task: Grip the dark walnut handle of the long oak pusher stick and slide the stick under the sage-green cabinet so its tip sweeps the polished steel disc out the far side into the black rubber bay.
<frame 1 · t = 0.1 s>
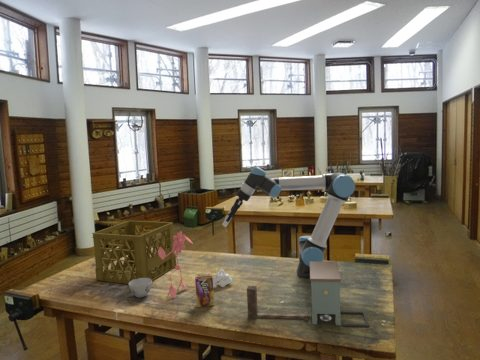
hand: (224, 223, 220), 36 cm above the table, tool tilted 35°, fingers open, 13 cm apart
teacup: (139, 295, 216), on the table
pusher stick: (252, 316, 184), on the table
rubber bay: (352, 319, 176), on the table
milk crate: (138, 273, 251), on the table
candy box: (205, 305, 199), on the table
cabinet: (325, 313, 183), on the table
crumpled paper ball: (222, 285, 225), on the table
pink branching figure: (183, 294, 214), on the table
steel disc: (325, 319, 178), on the table
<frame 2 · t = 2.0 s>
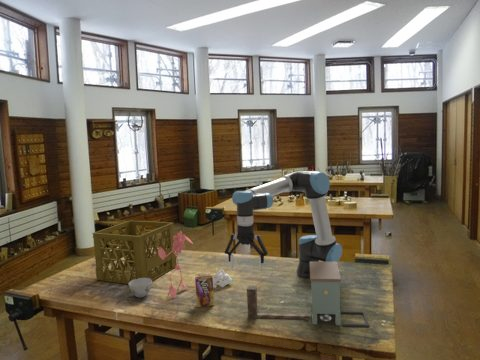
hand: (246, 269, 184), 22 cm above the table, tool pointing down, fingers open, 13 cm apart
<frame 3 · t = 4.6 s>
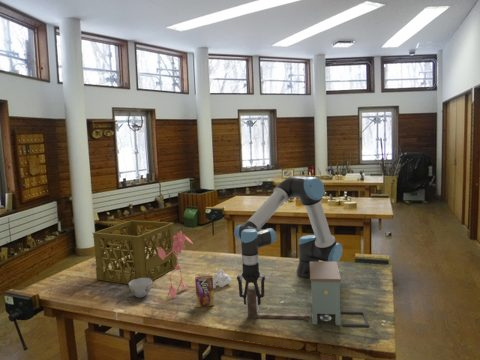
hand: (252, 310, 184), 3 cm above the table, tool pointing down, fingers closed on pusher stick, 4 cm apart
pusher stick: (252, 316, 184), on the table, touching gripper
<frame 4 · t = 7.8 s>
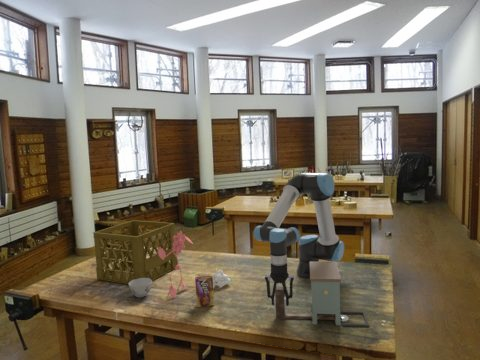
hand: (280, 311, 182), 3 cm above the table, tool pointing down, fingers closed on pusher stick, 4 cm apart
pusher stick: (280, 317, 182), on the table, touching gripper
steel disc: (342, 319, 177), on the table
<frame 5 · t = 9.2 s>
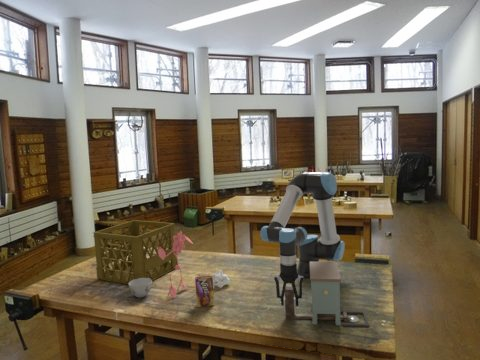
hand: (290, 311, 181), 3 cm above the table, tool pointing down, fingers closed on pusher stick, 4 cm apart
pusher stick: (290, 317, 181), on the table, touching gripper
steel disc: (352, 320, 176), on the table
when the fingers open (3 cm above the table, at t = 10.0 s): pusher stick stays where it is, on the table.
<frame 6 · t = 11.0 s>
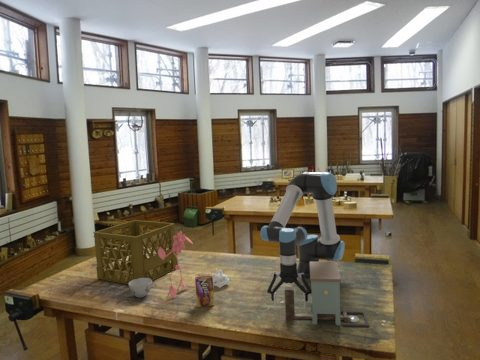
hand: (289, 307, 181), 5 cm above the table, tool pointing down, fingers open, 13 cm apart
pusher stick: (290, 317, 181), on the table
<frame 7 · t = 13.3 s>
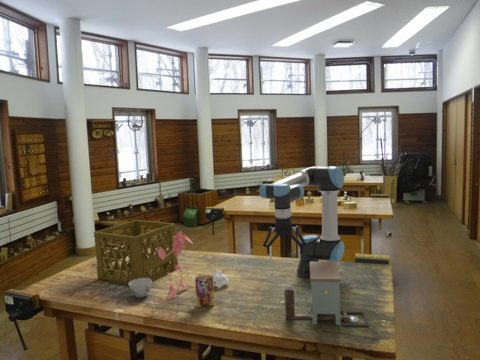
hand: (285, 260, 187), 24 cm above the table, tool pointing down, fingers open, 13 cm apart
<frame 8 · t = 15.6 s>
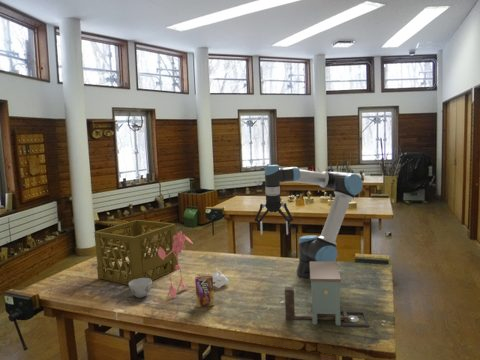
hand: (274, 234, 208), 32 cm above the table, tool pointing down, fingers open, 13 cm apart
at the end: steel disc 0.2 cm from the rubber bay (horizontally); steel disc moved 12.0 cm from its start; steel disc on the table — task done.
